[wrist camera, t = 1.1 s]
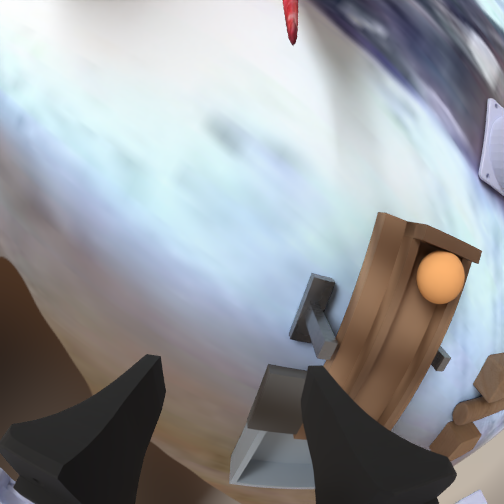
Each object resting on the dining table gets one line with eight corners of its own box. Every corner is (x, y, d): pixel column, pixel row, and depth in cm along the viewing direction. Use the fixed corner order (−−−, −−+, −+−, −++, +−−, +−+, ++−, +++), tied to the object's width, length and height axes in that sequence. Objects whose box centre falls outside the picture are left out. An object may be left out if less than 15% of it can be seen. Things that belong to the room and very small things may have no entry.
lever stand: (311, 272, 19) (331, 309, 14) (431, 303, 20) (466, 335, 15) (288, 333, 21) (298, 381, 15) (405, 352, 21) (433, 390, 16)
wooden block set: (508, 379, 17) (558, 360, 18) (482, 353, 23) (539, 343, 23) (436, 473, 22) (504, 442, 22) (422, 446, 27) (491, 423, 28)
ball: (445, 258, 15) (477, 257, 12) (435, 304, 15) (468, 310, 12) (411, 245, 15) (444, 242, 12) (401, 296, 14) (433, 302, 11)
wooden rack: (322, 192, 15) (341, 191, 12) (465, 249, 15) (494, 257, 12) (245, 423, 17) (245, 453, 14) (379, 432, 18) (392, 455, 15)
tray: (378, 400, 23) (391, 428, 19) (327, 463, 26) (333, 488, 22) (262, 388, 22) (263, 422, 18) (231, 455, 25) (229, 483, 21)
